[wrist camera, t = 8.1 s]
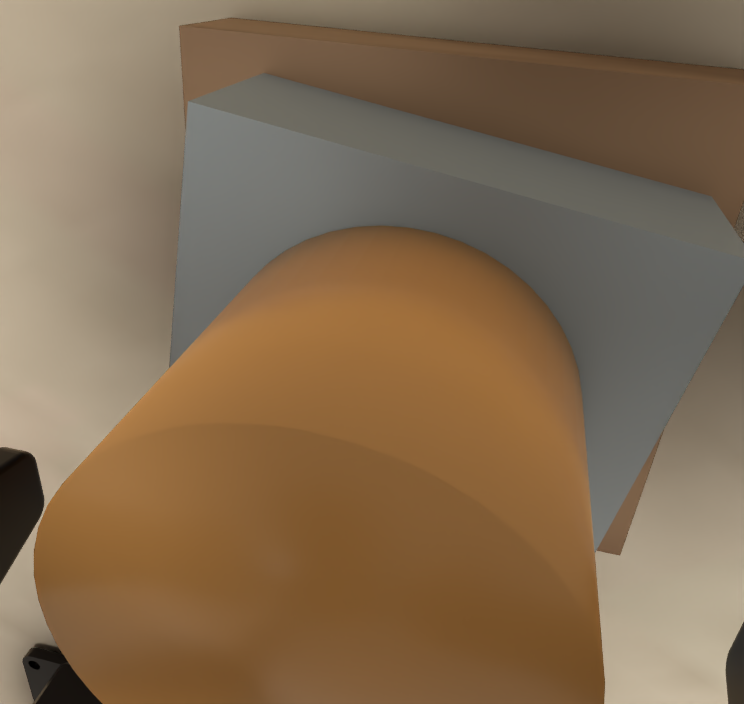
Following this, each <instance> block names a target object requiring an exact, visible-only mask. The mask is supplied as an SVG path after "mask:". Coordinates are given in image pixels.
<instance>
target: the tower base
mask: <svg viewBox="0 0 744 704" xmlns="http://www.w3.org/2000/svg"><path fill="white" fill-rule="evenodd" d="M179 30H180V47H181V63H182V79H183V95H184V112H185V128H186V122H187V108H188V101H190V100H193V99H195V98H198V97H201V96H203V95H206V94H209V93H211V92H214V91H217V90H219V89H222V88H225V87H227V86H230V85H233V84H236V83H238V82H241V81H244V80H246V79H249V78H252V77H254V76H257V75H260V74H262V73H266V74H270V75H273V76H277V77H280V78H284V79H288V80H291V81H295V82H299V83H302V84H306V85H309V86H313V87H317V88H320V89H324V90H328V91H331V92H335V93H338V94H342V95H346V96H349V97H353V98H357V99H360V100H364V101H367V102H371V103H375V104H378V105H382V106H386V107H389V108H393V109H396V110H400V111H404V112H407V113H411V114H415V115H418V116H422V117H425V118H429V119H433V120H436V121H440V122H444V123H447V124H451V125H454V126H458V127H462V128H465V129H469V130H473V131H476V132H480V133H483V134H487V135H491V136H494V137H498V138H502V139H505V140H509V141H512V142H516V143H520V144H523V145H527V146H531V147H534V148H538V149H541V150H545V151H549V152H552V153H556V154H560V155H563V156H567V157H570V158H574V159H578V160H581V161H585V162H589V163H592V164H596V165H599V166H603V167H607V168H610V169H614V170H618V171H621V172H625V173H628V174H632V175H636V176H639V177H643V178H647V179H650V180H654V181H657V182H661V183H665V184H668V185H672V186H676V187H679V188H683V189H686V190H690V191H694V192H697V193H701V194H705V195H708V196H712V198H713V199H714V201H715V202H716V203H717V205H718V206H719V208H720V209H721V211H722V212H723V214H724V215H725V217H726V218H727V220H728V221H729V222H730V224H731V225H732V227H733V228H734V227H735V224H736V221H737V219H738V216H739V213H740V210H741V207H742V204H743V201H744V70H743V69H733V68H723V67H713V66H703V65H693V64H683V63H673V62H664V61H654V60H644V59H634V58H624V57H614V56H604V55H594V54H584V53H575V52H565V51H555V50H545V49H535V48H525V47H515V46H505V45H495V44H485V43H476V42H466V41H456V40H446V39H436V38H426V37H416V36H406V35H396V34H387V33H377V32H367V31H357V30H347V29H337V28H327V27H317V26H307V25H298V24H288V23H278V22H268V21H258V20H248V19H238V18H227V19H220V20H214V21H208V22H201V23H195V24H188V25H182V26H179ZM663 431H664V429H663ZM663 431H662V433H661V435H660V437H659V438H658V440H657V442H656V444H655V446H654V447H653V449H652V451H651V453H650V455H649V456H648V458H647V460H646V462H645V464H644V465H643V467H642V469H641V471H640V473H639V474H638V476H637V478H636V480H635V482H634V484H633V485H632V487H631V489H630V491H629V493H628V494H627V496H626V498H625V500H624V502H623V503H622V505H621V507H620V509H619V511H618V512H617V514H616V516H615V518H614V520H613V521H612V523H611V525H610V527H609V529H608V530H607V532H606V534H605V536H604V538H603V539H602V541H601V543H600V545H599V547H598V548H597V551H602V552H606V553H611V554H616V555H620V554H621V551H622V548H623V545H624V542H625V540H626V537H627V534H628V531H629V528H630V525H631V522H632V519H633V517H634V514H635V511H636V508H637V505H638V502H639V499H640V497H641V494H642V491H643V488H644V485H645V482H646V479H647V477H648V474H649V471H650V468H651V465H652V462H653V459H654V456H655V454H656V451H657V448H658V445H659V442H660V439H661V436H662V434H663Z"/></svg>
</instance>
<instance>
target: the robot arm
mask: <svg viewBox="0 0 744 704" xmlns="http://www.w3.org/2000/svg"><path fill="white" fill-rule="evenodd" d="M43 507H44V494H43V490H42V486H41V481H40V477H39V472H38V468H37V463H36V460H35V458H34V457H33V455H32V454H31V453H29V452H26V451H22V450H17V449H12V448H7V447H1V448H0V584H1V582H2V581H3V579H4V577H5V575H6V574H7V572H8V570H9V569H10V567H11V565H12V564H13V562H14V560H15V559H16V557H17V555H18V554H19V552H20V550H21V549H22V547H23V545H24V544H25V542H26V540H27V539H28V537H29V535H30V534H31V532H32V530H33V528H34V527H35V525H36V523H37V522H38V520H39V518H40V516H41V514H42V511H43ZM23 665H24V668H25V672H26V675H27V678H28V682H29V685H30V689H31V692H32V696H33V699H34V703H33V704H102V703H101V702H100V701H99V700H98V698H97V697H96V696H95V695H94V694H93V693H92V692H91V691H90V690H89V689H88V687H87V686H86V685H85V684H84V683H83V681H82V680H81V679H80V678H79V676H78V675H77V674H76V673H75V671H74V670H73V669H72V667H71V666H70V664H69V663H68V661H67V660H66V658H65V656H64V655H63V654H60V653H56V652H52V651H48V650H44V649H41V648H31V649H30V650H29V652H28V653H27V654H26V655H25V657H24V658H23ZM726 682H727V693H728V704H744V622H743V624H742V626H741V628H740V630H739V632H738V634H737V636H736V638H735V640H734V642H733V644H732V646H731V648H730V650H729V653H728V656H727V661H726Z"/></svg>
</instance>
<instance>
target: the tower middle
mask: <svg viewBox="0 0 744 704" xmlns="http://www.w3.org/2000/svg"><path fill="white" fill-rule="evenodd" d="M363 226H395V227H408V228H413V229H418V230H423V231H428V232H433V233H437V234H440V235H443V236H446V237H449V238H452V239H455V240H458V241H461V242H463V243H465V244H467V245H469V246H471V247H473V248H476V249H478V250H480V251H482V252H484V253H486V254H488V255H489V256H491V257H492V258H494V259H495V260H497V261H498V262H500V263H501V264H503V265H504V266H506V267H508V268H509V269H510V270H511V271H513V272H514V273H515V274H516V275H517V276H518V277H520V278H521V279H522V280H523V281H524V282H525V283H527V284H528V285H529V286H530V287H531V288H532V289H533V290H534V291H535V293H536V294H537V295H538V296H539V297H540V298H541V299H542V300H543V301H544V303H545V304H546V305H547V306H548V308H549V309H550V311H551V312H552V314H553V315H554V316H555V318H556V319H557V321H558V322H559V324H560V325H561V327H562V329H563V331H564V333H565V335H566V337H567V339H568V342H569V344H570V346H571V348H572V351H573V354H574V357H575V360H576V364H577V367H578V370H579V377H580V383H581V390H582V401H583V414H584V426H585V439H586V451H587V464H588V476H589V489H590V502H591V514H592V527H593V539H594V552H596V550H597V548H598V547H599V545H600V543H601V541H602V539H603V538H604V536H605V534H606V532H607V530H608V529H609V527H610V525H611V523H612V521H613V520H614V518H615V516H616V514H617V512H618V511H619V509H620V507H621V505H622V503H623V502H624V500H625V498H626V496H627V494H628V493H629V491H630V489H631V487H632V485H633V484H634V482H635V480H636V478H637V476H638V474H639V473H640V471H641V469H642V467H643V465H644V464H645V462H646V460H647V458H648V456H649V455H650V453H651V451H652V449H653V447H654V446H655V444H656V442H657V440H658V438H659V437H660V435H661V433H662V431H663V429H664V428H665V426H666V424H667V422H668V420H669V419H670V417H671V415H672V413H673V411H674V410H675V408H676V406H677V404H678V402H679V401H680V399H681V397H682V395H683V393H684V392H685V390H686V388H687V386H688V384H689V383H690V381H691V379H692V377H693V375H694V374H695V372H696V370H697V368H698V366H699V365H700V363H701V361H702V359H703V357H704V356H705V354H706V352H707V350H708V348H709V347H710V345H711V343H712V341H713V339H714V338H715V336H716V334H717V332H718V330H719V329H720V327H721V325H722V323H723V321H724V320H725V318H726V316H727V314H728V312H729V311H730V309H731V307H732V305H733V303H734V302H735V300H736V298H737V296H738V294H739V293H740V291H741V289H742V287H743V285H744V243H743V241H742V240H741V238H740V237H739V236H738V234H737V233H736V231H735V230H734V228H733V227H732V225H731V224H730V222H729V221H728V220H727V218H726V217H725V215H724V214H723V212H722V211H721V209H720V208H719V206H718V205H717V203H716V202H715V201H714V199H713V198H712V196H708V195H705V194H701V193H697V192H694V191H690V190H686V189H683V188H679V187H676V186H672V185H668V184H665V183H661V182H657V181H654V180H650V179H647V178H643V177H639V176H636V175H632V174H628V173H625V172H621V171H618V170H614V169H610V168H607V167H603V166H599V165H596V164H592V163H589V162H585V161H581V160H578V159H574V158H570V157H567V156H563V155H560V154H556V153H552V152H549V151H545V150H541V149H538V148H534V147H531V146H527V145H523V144H520V143H516V142H512V141H509V140H505V139H502V138H498V137H494V136H491V135H487V134H483V133H480V132H476V131H473V130H469V129H465V128H462V127H458V126H454V125H451V124H447V123H444V122H440V121H436V120H433V119H429V118H425V117H422V116H418V115H415V114H411V113H407V112H404V111H400V110H396V109H393V108H389V107H386V106H382V105H378V104H375V103H371V102H367V101H364V100H360V99H357V98H353V97H349V96H346V95H342V94H338V93H335V92H331V91H328V90H324V89H320V88H317V87H313V86H309V85H306V84H302V83H299V82H295V81H291V80H288V79H284V78H280V77H277V76H273V75H270V74H266V73H262V74H260V75H257V76H254V77H252V78H249V79H246V80H244V81H241V82H238V83H236V84H233V85H230V86H227V87H225V88H222V89H219V90H217V91H214V92H211V93H209V94H206V95H203V96H201V97H198V98H195V99H193V100H190V101H188V108H187V122H186V136H185V151H184V165H183V179H182V194H181V208H180V222H179V237H178V251H177V265H176V280H175V294H174V308H173V323H172V337H171V351H170V366H169V368H170V367H171V366H172V365H173V364H174V363H175V361H176V360H177V359H178V358H179V357H180V356H181V355H182V354H183V353H184V352H185V351H186V350H187V348H188V347H189V346H190V345H191V344H192V343H193V342H194V341H195V340H196V339H197V338H198V337H199V335H200V334H201V333H202V332H203V331H204V330H205V329H206V328H207V327H208V326H209V325H210V324H211V322H212V321H213V320H214V319H215V318H216V317H217V316H218V315H219V314H220V313H221V312H222V311H223V309H224V308H225V307H226V306H227V305H228V304H229V303H230V302H231V301H232V300H233V299H234V298H235V296H236V295H237V294H238V293H239V292H240V291H241V290H242V289H243V288H244V287H245V286H246V285H247V284H248V282H249V281H250V280H251V279H252V278H253V277H254V276H255V275H256V274H257V273H258V272H259V271H260V270H261V269H262V268H263V267H264V266H265V265H266V264H267V263H269V262H270V261H272V260H273V259H274V258H276V257H277V256H279V255H280V254H281V253H283V252H284V251H286V250H287V249H289V248H291V247H293V246H295V245H297V244H299V243H301V242H303V241H305V240H307V239H310V238H313V237H316V236H319V235H322V234H325V233H328V232H331V231H337V230H342V229H347V228H352V227H363Z"/></svg>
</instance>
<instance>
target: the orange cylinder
mask: <svg viewBox="0 0 744 704" xmlns="http://www.w3.org/2000/svg"><path fill="white" fill-rule="evenodd" d="M34 578H35V583H36V589H37V594H38V600H39V603H40V606H41V609H42V611H43V614H44V617H45V620H46V623H47V625H48V627H49V629H50V631H51V633H52V635H53V637H54V639H55V641H56V643H57V645H58V647H59V649H60V650H61V652H62V653H63V655H64V656H65V658H66V660H67V661H68V663H69V664H70V666H71V667H72V669H73V670H74V671H75V673H76V674H77V675H78V676H79V678H80V679H81V680H82V681H83V683H84V684H85V685H86V686H87V687H88V689H89V690H90V691H91V692H92V693H93V694H94V695H95V696H96V697H97V698H98V700H99V701H100V702H101V703H102V704H604V693H605V678H604V665H603V652H602V640H601V627H600V615H599V602H598V590H597V577H596V564H595V552H594V539H593V527H592V514H591V502H590V489H589V476H588V464H587V451H586V439H585V426H584V414H583V401H582V390H581V383H580V377H579V370H578V367H577V364H576V360H575V357H574V354H573V351H572V348H571V346H570V344H569V342H568V339H567V337H566V335H565V333H564V331H563V329H562V327H561V325H560V324H559V322H558V321H557V319H556V318H555V316H554V315H553V314H552V312H551V311H550V309H549V308H548V306H547V305H546V304H545V303H544V301H543V300H542V299H541V298H540V297H539V296H538V295H537V294H536V293H535V291H534V290H533V289H532V288H531V287H530V286H529V285H528V284H527V283H525V282H524V281H523V280H522V279H521V278H520V277H518V276H517V275H516V274H515V273H514V272H513V271H511V270H510V269H509V268H508V267H506V266H504V265H503V264H501V263H500V262H498V261H497V260H495V259H494V258H492V257H491V256H489V255H488V254H486V253H484V252H482V251H480V250H478V249H476V248H473V247H471V246H469V245H467V244H465V243H463V242H461V241H458V240H455V239H452V238H449V237H446V236H443V235H440V234H437V233H433V232H428V231H423V230H418V229H413V228H408V227H395V226H363V227H352V228H347V229H342V230H337V231H331V232H328V233H325V234H322V235H319V236H316V237H313V238H310V239H307V240H305V241H303V242H301V243H299V244H297V245H295V246H293V247H291V248H289V249H287V250H286V251H284V252H283V253H281V254H280V255H279V256H277V257H276V258H274V259H273V260H272V261H270V262H269V263H267V264H266V265H265V266H264V267H263V268H262V269H261V270H260V271H259V272H258V273H257V274H256V275H255V276H254V277H253V278H252V279H251V280H250V281H249V282H248V284H247V285H246V286H245V287H244V288H243V289H242V290H241V291H240V292H239V293H238V294H237V295H236V296H235V298H234V299H233V300H232V301H231V302H230V303H229V304H228V305H227V306H226V307H225V308H224V309H223V311H222V312H221V313H220V314H219V315H218V316H217V317H216V318H215V319H214V320H213V321H212V322H211V324H210V325H209V326H208V327H207V328H206V329H205V330H204V331H203V332H202V333H201V334H200V335H199V337H198V338H197V339H196V340H195V341H194V342H193V343H192V344H191V345H190V346H189V347H188V348H187V350H186V351H185V352H184V353H183V354H182V355H181V356H180V357H179V358H178V359H177V360H176V361H175V363H174V364H173V365H172V366H171V367H170V368H169V369H168V370H167V371H166V372H165V373H164V374H163V376H162V377H161V378H160V379H159V380H158V381H157V382H156V383H155V384H154V385H153V386H152V387H151V389H150V390H149V391H148V392H147V393H146V394H145V395H144V396H143V397H142V398H141V399H140V400H139V402H138V403H137V404H136V405H135V406H134V407H133V408H132V409H131V410H130V411H129V412H128V413H127V415H126V416H125V417H124V418H123V419H122V420H121V421H120V422H119V423H118V424H117V425H116V426H115V428H114V429H113V430H112V431H111V432H110V433H109V434H108V435H107V436H106V437H105V438H104V439H103V441H102V442H101V443H100V444H99V445H98V446H97V447H96V448H95V449H94V450H93V451H92V452H91V454H90V455H89V456H88V457H87V458H86V459H85V460H84V461H83V462H82V463H81V464H80V465H79V467H78V468H77V469H76V470H75V471H74V472H73V473H72V474H71V475H70V476H69V477H68V478H67V480H66V481H65V482H64V483H63V484H62V485H61V487H60V488H59V490H58V491H57V492H56V494H55V495H54V497H53V498H52V500H51V501H50V503H49V504H48V506H47V508H46V511H45V513H44V515H43V518H42V520H41V523H40V525H39V527H38V532H37V538H36V543H35V548H34Z"/></svg>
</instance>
